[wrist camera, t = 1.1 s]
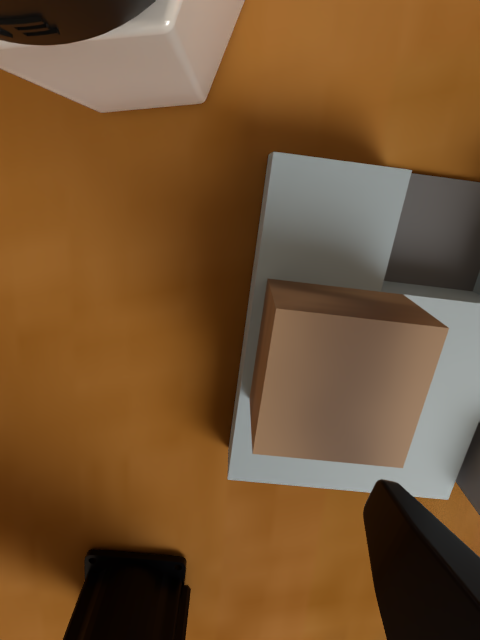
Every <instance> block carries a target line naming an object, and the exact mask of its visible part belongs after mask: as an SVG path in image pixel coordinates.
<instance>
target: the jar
mask: <svg viewBox="0 0 480 640" xmlns="http://www.w3.org/2000/svg"><path fill="white" fill-rule="evenodd" d="M244 1H245V0H0V69H2V70H4V71H6V72H9V73H11V74H13V75H15V76H18V77H20V78H22V79H25V80H27V81H29V82H31V83H34V84H36V85H38V86H40V87H43V88H45V89H47V90H50V91H52V92H54V93H56V94H59V95H61V96H63V97H66V98H68V99H70V100H72V101H75V102H77V103H79V104H81V105H84V106H86V107H88V108H91V109H93V110H95V111H97V112H100V113H104V112H115V111H125V110H136V109H147V108H158V107H169V106H180V105H191V104H201V103H203V102H204V101H205V100H206V98H207V95H208V93H209V90H210V88H211V85H212V83H213V80H214V78H215V75H216V72H217V70H218V67H219V65H220V62H221V60H222V57H223V55H224V52H225V49H226V47H227V44H228V42H229V39H230V37H231V34H232V32H233V29H234V26H235V24H236V21H237V19H238V16H239V14H240V11H241V9H242V6H243V3H244Z"/></svg>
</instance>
